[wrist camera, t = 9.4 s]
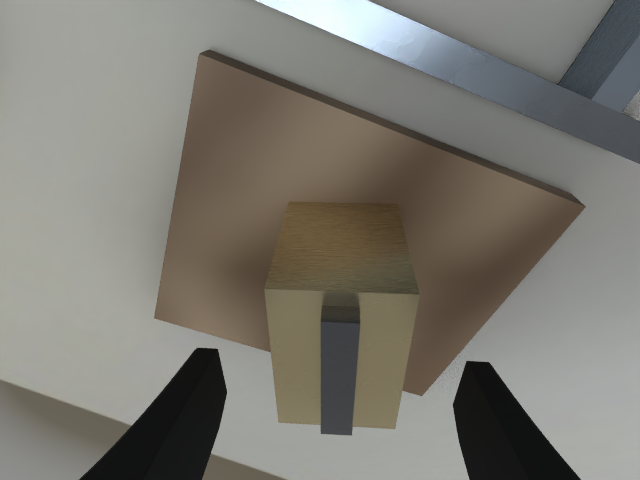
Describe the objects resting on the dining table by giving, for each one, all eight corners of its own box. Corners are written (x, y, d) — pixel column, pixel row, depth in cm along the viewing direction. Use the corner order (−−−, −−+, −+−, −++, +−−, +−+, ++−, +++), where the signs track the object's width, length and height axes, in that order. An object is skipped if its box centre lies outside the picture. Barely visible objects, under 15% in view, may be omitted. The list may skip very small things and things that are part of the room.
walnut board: (571, 194, 14) (585, 206, 13) (418, 379, 21) (422, 396, 20) (209, 49, 12) (199, 53, 11) (162, 303, 19) (154, 318, 18)
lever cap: (397, 204, 14) (423, 311, 9) (383, 322, 17) (396, 446, 12) (289, 201, 14) (259, 304, 9) (295, 319, 17) (275, 439, 13)
